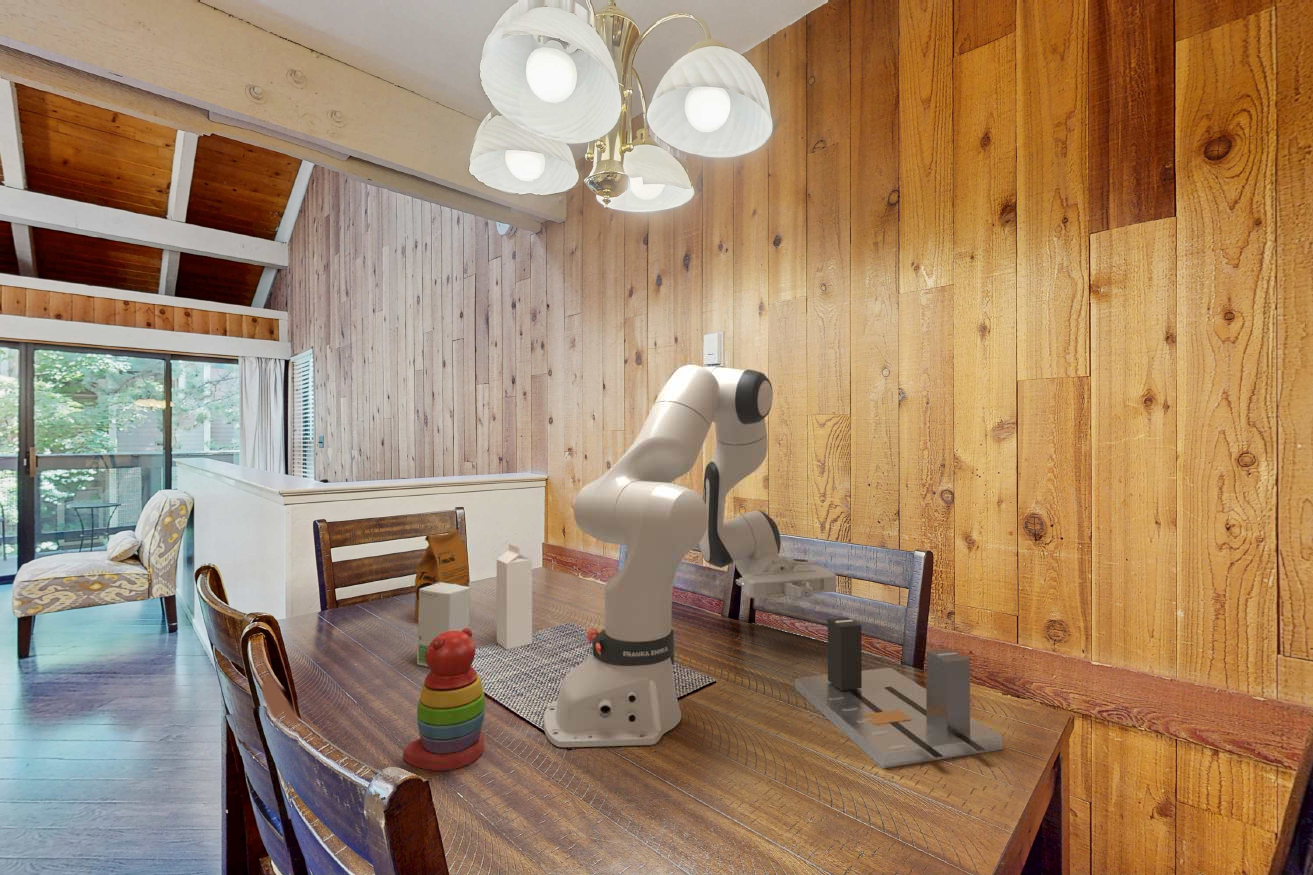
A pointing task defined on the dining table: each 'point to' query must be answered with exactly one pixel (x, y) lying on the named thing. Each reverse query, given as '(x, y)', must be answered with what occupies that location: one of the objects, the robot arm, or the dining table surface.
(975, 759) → the dining table surface
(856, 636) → the fader knob
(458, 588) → the skincare box
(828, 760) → the dining table surface
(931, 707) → the console
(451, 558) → the coffee package
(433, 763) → the stacking bear
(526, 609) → the milk
